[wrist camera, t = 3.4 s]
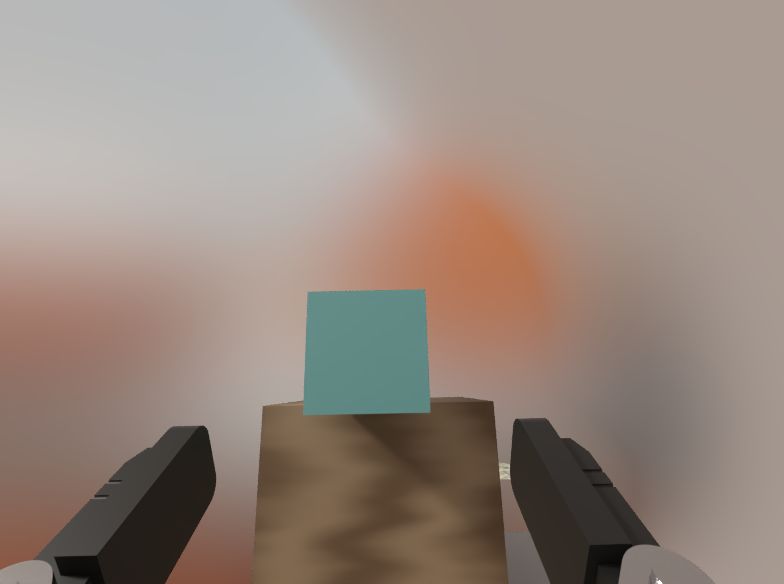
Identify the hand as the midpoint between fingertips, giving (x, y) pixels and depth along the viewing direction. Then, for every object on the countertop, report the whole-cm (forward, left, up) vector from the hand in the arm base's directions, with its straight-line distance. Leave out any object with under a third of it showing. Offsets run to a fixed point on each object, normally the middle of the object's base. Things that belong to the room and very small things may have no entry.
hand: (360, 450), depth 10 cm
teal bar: (0, -14, +1) cm, 14 cm away
